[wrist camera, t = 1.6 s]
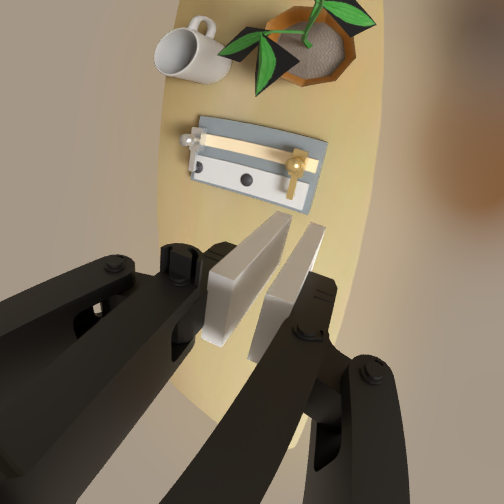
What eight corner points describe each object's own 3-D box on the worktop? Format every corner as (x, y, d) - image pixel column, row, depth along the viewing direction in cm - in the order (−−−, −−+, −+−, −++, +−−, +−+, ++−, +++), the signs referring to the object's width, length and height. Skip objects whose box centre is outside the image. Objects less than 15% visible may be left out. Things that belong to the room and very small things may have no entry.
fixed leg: (198, 126, 44) (181, 127, 39) (208, 128, 43) (191, 128, 39) (191, 168, 47) (174, 172, 43) (201, 170, 47) (184, 175, 42)
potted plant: (366, 14, 28) (351, -113, 3) (377, 118, 35) (413, 73, 10) (260, 20, 35) (145, -66, 9) (266, 117, 42) (132, 100, 16)
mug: (224, 88, 42) (188, 79, 33) (185, 80, 44) (147, 73, 34) (244, 30, 36) (214, 8, 27) (204, 26, 38) (169, 8, 28)
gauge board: (206, 116, 45) (197, 115, 43) (328, 142, 40) (326, 142, 37) (196, 178, 51) (187, 180, 48) (309, 211, 45) (306, 216, 43)
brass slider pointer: (297, 148, 39) (288, 149, 35) (309, 151, 39) (303, 153, 34) (285, 194, 43) (276, 201, 38) (298, 198, 42) (289, 206, 38)
